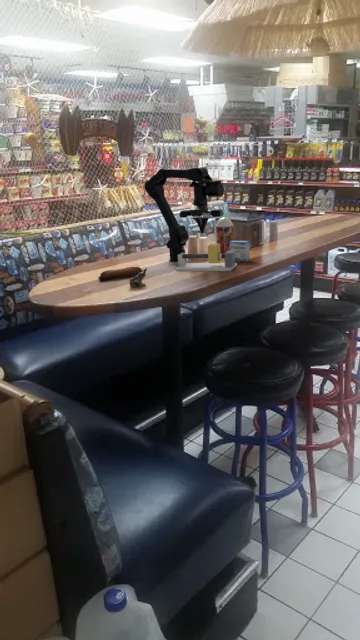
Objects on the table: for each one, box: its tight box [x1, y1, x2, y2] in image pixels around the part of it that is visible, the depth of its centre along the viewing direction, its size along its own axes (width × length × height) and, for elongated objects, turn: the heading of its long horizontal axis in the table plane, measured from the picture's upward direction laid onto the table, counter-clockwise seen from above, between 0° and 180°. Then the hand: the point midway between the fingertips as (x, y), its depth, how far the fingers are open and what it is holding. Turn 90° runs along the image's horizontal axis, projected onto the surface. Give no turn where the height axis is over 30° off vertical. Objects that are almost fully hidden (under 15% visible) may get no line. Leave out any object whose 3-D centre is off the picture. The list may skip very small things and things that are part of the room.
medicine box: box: [230, 240, 251, 262], centre depth 230 cm, size 8×4×9 cm, turn 62°
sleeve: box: [207, 242, 222, 263], centre depth 218 cm, size 4×5×8 cm
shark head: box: [129, 268, 148, 288], centre depth 196 cm, size 8×6×7 cm
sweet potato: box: [97, 266, 143, 282], centre depth 214 cm, size 18×7×7 cm, turn 111°
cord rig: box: [174, 251, 238, 272], centre depth 220 cm, size 24×12×7 cm, turn 70°
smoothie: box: [215, 210, 234, 254], centre depth 246 cm, size 8×8×20 cm
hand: (202, 233), depth 230 cm, fingers closed
